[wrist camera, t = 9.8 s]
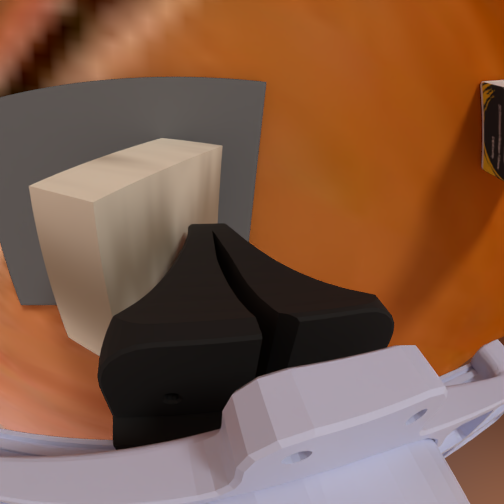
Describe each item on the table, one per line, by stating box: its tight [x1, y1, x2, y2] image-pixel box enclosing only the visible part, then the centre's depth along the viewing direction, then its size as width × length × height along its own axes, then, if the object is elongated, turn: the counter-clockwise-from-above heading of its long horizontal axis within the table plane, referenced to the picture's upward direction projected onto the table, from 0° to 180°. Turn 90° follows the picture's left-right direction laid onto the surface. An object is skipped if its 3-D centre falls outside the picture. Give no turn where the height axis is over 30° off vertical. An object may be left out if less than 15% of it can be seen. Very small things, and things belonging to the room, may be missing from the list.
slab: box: [29, 138, 223, 356], centre depth 11 cm, size 6×3×7 cm
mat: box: [0, 77, 266, 305], centre depth 14 cm, size 12×14×1 cm
